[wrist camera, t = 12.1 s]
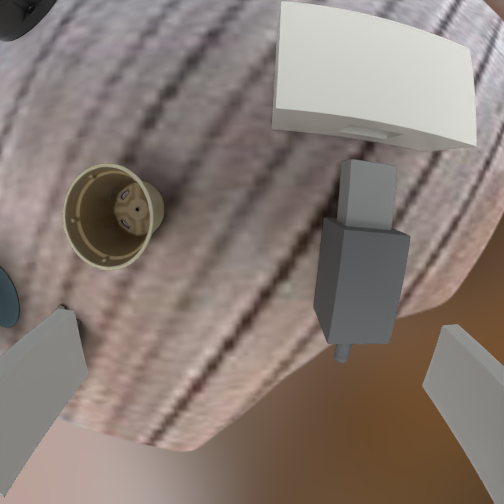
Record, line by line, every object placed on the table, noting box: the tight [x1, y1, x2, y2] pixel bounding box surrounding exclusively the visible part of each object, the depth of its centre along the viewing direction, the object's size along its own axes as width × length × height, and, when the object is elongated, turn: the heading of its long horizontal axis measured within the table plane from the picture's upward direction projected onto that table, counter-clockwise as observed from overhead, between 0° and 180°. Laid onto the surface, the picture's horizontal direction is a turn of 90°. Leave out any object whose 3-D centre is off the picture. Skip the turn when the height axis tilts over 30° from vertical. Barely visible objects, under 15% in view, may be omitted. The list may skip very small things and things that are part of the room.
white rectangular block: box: [271, 1, 476, 152], centre depth 25 cm, size 10×18×10 cm, turn 86°
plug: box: [313, 159, 410, 363], centre depth 29 cm, size 20×6×8 cm, turn 176°
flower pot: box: [62, 163, 164, 270], centre depth 29 cm, size 9×9×9 cm
